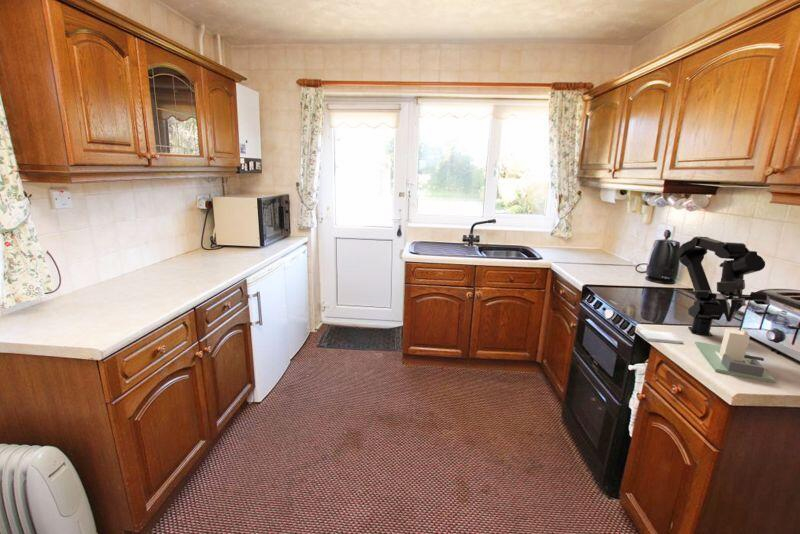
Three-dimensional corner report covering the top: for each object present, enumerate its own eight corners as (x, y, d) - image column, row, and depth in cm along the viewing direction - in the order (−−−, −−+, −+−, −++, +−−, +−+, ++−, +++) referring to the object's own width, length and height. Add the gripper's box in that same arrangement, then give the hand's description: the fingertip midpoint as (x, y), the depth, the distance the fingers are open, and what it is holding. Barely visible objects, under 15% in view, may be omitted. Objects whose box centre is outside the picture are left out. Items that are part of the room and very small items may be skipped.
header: (721, 362, 121) (723, 353, 120) (753, 368, 118) (755, 359, 117) (728, 370, 116) (730, 361, 115) (761, 377, 113) (764, 368, 112)
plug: (719, 353, 127) (726, 325, 125) (759, 360, 123) (767, 331, 121) (723, 358, 124) (730, 329, 121) (764, 365, 120) (773, 336, 117)
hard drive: (646, 337, 138) (683, 341, 136) (636, 329, 146) (671, 332, 144) (645, 342, 139) (682, 345, 137) (635, 333, 146) (670, 336, 145)
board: (694, 343, 137) (695, 340, 136) (744, 352, 131) (745, 348, 131) (715, 371, 117) (716, 367, 117) (774, 382, 112) (775, 378, 111)
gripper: (692, 270, 134) (688, 313, 131) (765, 270, 119) (761, 319, 116) (701, 279, 141) (697, 320, 138) (771, 280, 126) (768, 327, 123)
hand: (728, 321), depth 129 cm, fingers closed
